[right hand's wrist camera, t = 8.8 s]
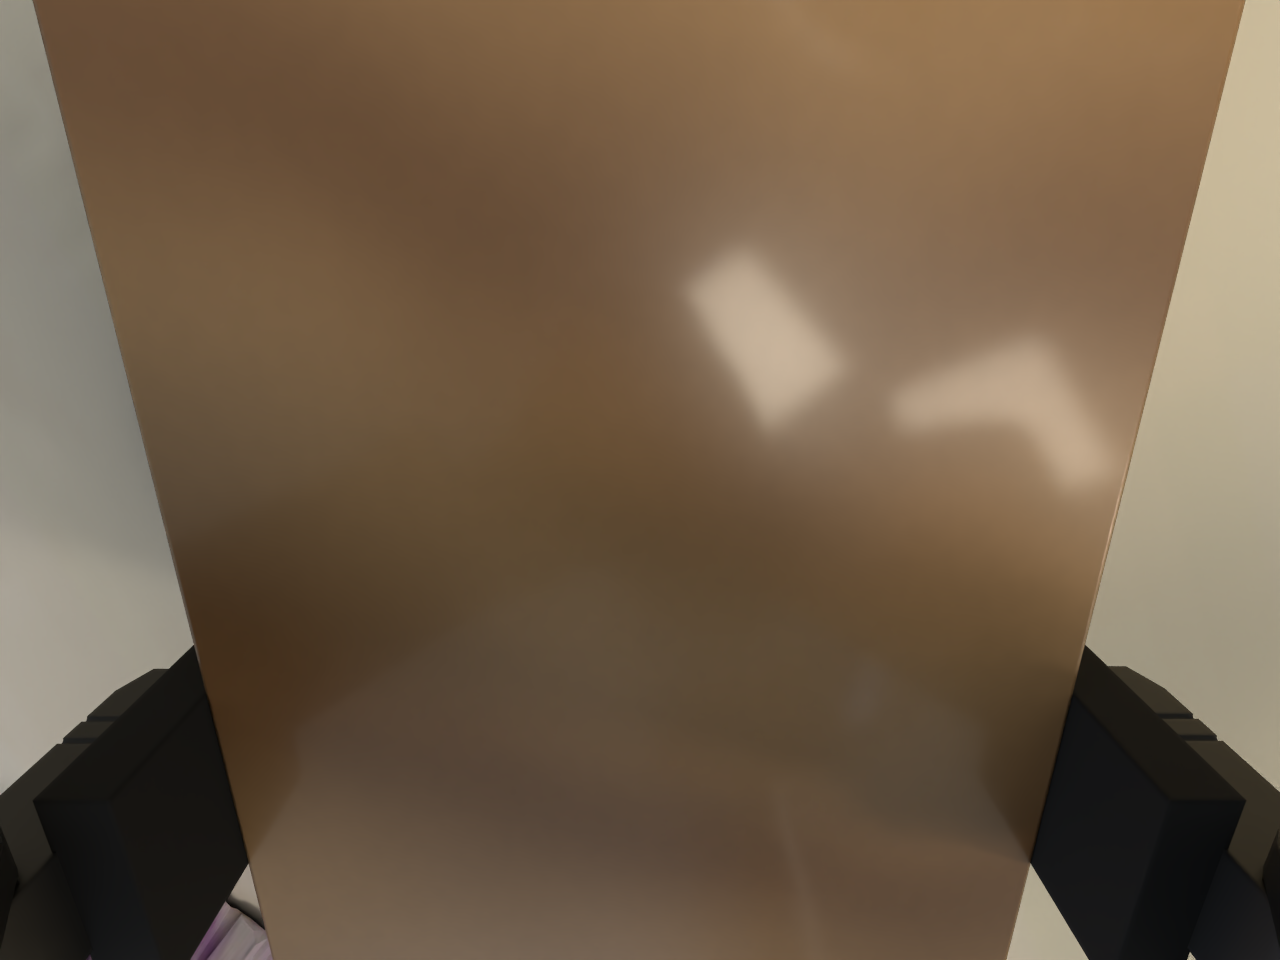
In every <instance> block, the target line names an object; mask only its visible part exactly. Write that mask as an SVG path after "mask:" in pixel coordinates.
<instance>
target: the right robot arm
mask: <svg viewBox="0 0 1280 960" xmlns="http://www.w3.org/2000/svg"><path fill="white" fill-rule="evenodd" d="M1216 737H1217V735H1216V734H1214V733H1213V732H1212V731H1211V730H1210V729H1209V728H1208V727H1207V726H1206V725H1204V724H1203V723H1202V722H1201V721H1200V720H1199V719H1194V718H1193V714H1192V713H1191V712H1190V711H1189V710H1188V709H1187V708H1186V707H1185V706H1183V705H1182V704H1181V703H1180V702H1179V701H1178V700H1177V699H1176V698H1175V697H1173V696H1172V695H1171V694H1170V693H1169V692H1168V691H1167V690H1166V689H1165V688H1163V687H1161V686H1159V685H1158V684H1156V683H1154V682H1152V681H1151V680H1149V679H1147V678H1145V677H1144V676H1142V675H1140V674H1138V673H1137V672H1135V671H1133V670H1131V669H1130V668H1128V667H1126V666H1107V665H1106V664H1105V663H1104V662H1103V661H1101V660H1100V659H1099V658H1098V657H1097V656H1096V655H1095V654H1094V653H1093V652H1092V651H1091V650H1090V649H1089V648H1088V647H1087V646H1086V645H1085V646H1084V650H1083V654H1082V658H1081V662H1080V666H1079V670H1078V674H1077V678H1076V682H1075V686H1074V690H1073V694H1072V698H1071V702H1070V706H1069V710H1068V714H1067V718H1066V722H1065V726H1064V730H1063V734H1062V738H1061V742H1060V746H1059V750H1058V754H1057V758H1056V762H1055V766H1054V770H1053V774H1052V778H1051V782H1050V786H1049V790H1048V794H1047V798H1046V802H1045V806H1044V810H1043V814H1042V818H1041V822H1040V826H1039V830H1038V834H1037V838H1036V842H1035V846H1034V851H1033V855H1032V859H1031V865H1032V866H1033V868H1034V869H1035V871H1036V873H1037V874H1038V876H1039V878H1040V879H1041V881H1042V883H1043V884H1044V886H1045V888H1046V889H1047V891H1048V893H1049V894H1050V896H1051V898H1052V899H1053V901H1054V903H1055V904H1056V906H1057V908H1058V909H1059V911H1060V913H1061V914H1062V916H1063V918H1064V919H1065V921H1066V923H1067V924H1068V926H1069V928H1070V929H1071V931H1072V932H1073V934H1074V936H1075V937H1076V939H1077V941H1078V942H1079V944H1080V946H1081V947H1082V949H1083V951H1084V952H1085V954H1086V956H1087V957H1088V959H1089V960H1187V958H1188V955H1189V953H1190V952H1191V953H1192V955H1193V956H1194V957H1195V959H1196V960H1280V792H1279V791H1278V790H1277V789H1275V788H1274V787H1273V786H1272V785H1271V784H1270V783H1269V782H1268V781H1267V780H1265V779H1264V778H1263V777H1262V776H1261V775H1260V774H1259V773H1258V772H1257V771H1256V770H1254V769H1253V768H1252V767H1251V766H1250V765H1249V764H1248V763H1247V762H1246V761H1244V760H1243V759H1242V758H1241V757H1240V756H1239V755H1238V754H1237V753H1236V752H1234V751H1233V750H1232V749H1231V748H1230V747H1229V746H1228V745H1227V744H1226V743H1224V742H1223V741H1218V740H1217V738H1216ZM248 863H249V862H248V858H247V854H246V850H245V846H244V842H243V838H242V834H241V830H240V826H239V822H238V818H237V814H236V810H235V806H234V803H233V799H232V795H231V791H230V787H229V783H228V779H227V775H226V771H225V767H224V763H223V759H222V755H221V751H220V747H219V743H218V739H217V735H216V731H215V727H214V723H213V719H212V715H211V711H210V707H209V703H208V699H207V695H206V691H205V687H204V683H203V679H202V675H201V671H200V667H199V663H198V659H197V655H196V651H195V647H194V645H193V646H192V647H191V648H190V649H189V650H188V651H187V652H186V653H185V654H184V655H183V656H182V657H181V658H180V659H179V660H178V661H177V662H176V663H175V664H174V665H172V666H171V667H170V668H169V669H153V670H151V671H149V672H148V673H146V674H144V675H142V676H141V677H139V678H137V679H135V680H134V681H132V682H130V683H128V684H127V685H125V686H123V687H121V688H120V689H118V690H116V691H115V692H114V693H113V694H112V695H110V696H109V697H108V698H107V699H106V700H105V701H104V702H103V703H102V704H101V705H99V706H98V707H97V708H96V709H95V710H94V711H93V712H92V713H91V714H89V715H88V716H87V721H86V722H81V723H80V724H78V725H77V726H76V727H75V728H74V729H73V730H72V731H71V732H70V733H69V734H67V735H66V736H65V737H64V738H63V743H62V744H56V745H55V746H54V747H53V748H52V749H51V750H50V751H49V752H48V753H46V754H45V755H44V756H43V757H42V758H41V759H40V760H39V761H38V762H37V763H35V764H34V765H33V766H32V767H31V768H30V769H29V770H28V771H27V772H26V773H24V774H23V775H22V776H21V777H20V778H19V779H18V780H17V781H16V782H15V783H13V784H12V785H11V786H10V787H9V788H8V789H7V790H6V791H5V792H3V793H2V794H1V795H0V960H86V959H87V958H88V956H89V955H91V958H92V960H190V959H191V958H192V956H193V954H194V953H195V951H196V949H197V948H198V946H199V944H200V943H201V941H202V940H203V938H204V936H205V935H206V933H207V931H208V930H209V928H210V926H211V925H212V923H213V921H214V920H215V918H216V916H217V915H218V913H219V911H220V910H221V908H222V906H223V905H224V903H225V901H226V900H227V898H228V896H229V895H230V893H231V891H232V890H233V888H234V886H235V885H236V883H237V882H238V880H239V878H240V877H241V875H242V873H243V872H244V870H245V868H246V867H247V865H248Z"/></svg>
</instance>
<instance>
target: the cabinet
mask: <svg viewBox="0 0 1280 960" xmlns="http://www.w3.org/2000/svg"><path fill="white" fill-rule="evenodd" d="M33 3H34V7H35V11H36V15H37V19H38V23H39V27H40V31H41V35H42V39H43V43H44V47H45V51H46V55H47V59H48V63H49V67H50V71H51V75H52V79H53V83H54V87H55V91H56V95H57V99H58V103H59V107H60V111H61V115H62V119H63V123H64V127H65V131H66V135H67V139H68V143H69V147H70V151H71V155H72V159H73V163H74V167H75V171H76V175H77V179H78V183H79V187H80V191H81V195H82V199H83V203H84V207H85V211H86V215H87V219H88V223H89V227H90V231H91V235H92V239H93V243H94V247H95V251H96V255H97V259H98V263H99V267H100V271H101V275H102V279H103V283H104V287H105V291H106V295H107V299H108V303H109V307H110V311H111V315H112V319H113V323H114V327H115V331H116V335H117V339H118V343H119V347H120V351H121V355H122V359H123V363H124V367H125V371H126V375H127V379H128V383H129V387H130V391H131V395H132V399H133V403H134V407H135V411H136V415H137V419H138V423H139V427H140V431H141V435H142V439H143V443H144V447H145V451H146V455H147V459H148V463H149V467H150V471H151V475H152V479H153V483H154V487H155V491H156V495H157V499H158V503H159V507H160V511H161V515H162V519H163V523H164V527H165V531H166V535H167V539H168V543H169V547H170V551H171V555H172V559H173V563H174V567H175V571H176V575H177V579H178V583H179V587H180V591H181V595H182V599H183V603H184V607H185V611H186V615H187V619H188V623H189V627H190V631H191V635H192V639H193V643H194V647H195V651H196V655H197V659H198V663H199V667H200V671H201V675H202V679H203V683H204V687H205V691H206V695H207V699H208V703H209V707H210V711H211V715H212V719H213V723H214V727H215V731H216V735H217V739H218V743H219V747H220V751H221V755H222V759H223V763H224V767H225V771H226V775H227V779H228V783H229V787H230V791H231V795H232V799H233V803H234V806H235V810H236V814H237V818H238V822H239V826H240V830H241V834H242V838H243V842H244V846H245V850H246V854H247V858H248V862H249V866H250V870H251V874H252V878H253V882H254V886H255V890H256V894H257V898H258V902H259V906H260V910H261V914H262V918H263V922H264V926H265V930H266V934H267V938H268V942H269V946H270V950H271V954H272V958H273V960H1006V959H1007V955H1008V951H1009V947H1010V943H1011V939H1012V935H1013V931H1014V927H1015V923H1016V919H1017V915H1018V911H1019V907H1020V903H1021V899H1022V895H1023V891H1024V887H1025V883H1026V879H1027V875H1028V871H1029V867H1030V863H1031V859H1032V855H1033V851H1034V846H1035V842H1036V838H1037V834H1038V830H1039V826H1040V822H1041V818H1042V814H1043V810H1044V806H1045V802H1046V798H1047V794H1048V790H1049V786H1050V782H1051V778H1052V774H1053V770H1054V766H1055V762H1056V758H1057V754H1058V750H1059V746H1060V742H1061V738H1062V734H1063V730H1064V726H1065V722H1066V718H1067V714H1068V710H1069V706H1070V702H1071V698H1072V694H1073V690H1074V686H1075V682H1076V678H1077V674H1078V670H1079V666H1080V662H1081V658H1082V654H1083V650H1084V646H1085V642H1086V638H1087V634H1088V630H1089V626H1090V622H1091V618H1092V614H1093V610H1094V606H1095V602H1096V598H1097V594H1098V590H1099V586H1100V582H1101V578H1102V574H1103V570H1104V566H1105V562H1106V558H1107V554H1108V550H1109V546H1110V542H1111V538H1112V533H1113V529H1114V525H1115V521H1116V517H1117V513H1118V509H1119V505H1120V501H1121V497H1122V493H1123V489H1124V485H1125V481H1126V477H1127V473H1128V469H1129V465H1130V461H1131V457H1132V453H1133V449H1134V445H1135V441H1136V437H1137V433H1138V429H1139V425H1140V421H1141V417H1142V413H1143V409H1144V405H1145V401H1146V397H1147V393H1148V389H1149V385H1150V381H1151V377H1152V373H1153V369H1154V365H1155V361H1156V357H1157V353H1158V349H1159V345H1160V341H1161V337H1162V333H1163V329H1164V325H1165V321H1166V317H1167V313H1168V309H1169V305H1170V301H1171V297H1172V293H1173V289H1174V285H1175V281H1176V277H1177V273H1178V269H1179V265H1180V261H1181V257H1182V253H1183V249H1184V245H1185V241H1186V237H1187V233H1188V229H1189V225H1190V220H1191V216H1192V212H1193V208H1194V204H1195V200H1196V196H1197V192H1198V188H1199V184H1200V180H1201V176H1202V172H1203V168H1204V164H1205V160H1206V156H1207V152H1208V148H1209V144H1210V140H1211V136H1212V132H1213V128H1214V124H1215V120H1216V116H1217V112H1218V108H1219V104H1220V100H1221V96H1222V92H1223V88H1224V84H1225V80H1226V76H1227V72H1228V68H1229V64H1230V60H1231V56H1232V52H1233V48H1234V44H1235V40H1236V36H1237V32H1238V28H1239V24H1240V20H1241V16H1242V12H1243V8H1244V4H1245V0H33Z"/></svg>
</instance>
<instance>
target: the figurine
mask: <svg viewBox="0 0 1280 960" xmlns="http://www.w3.org/2000/svg"><path fill="white" fill-rule="evenodd" d="M86 960H92V958H91V955H89V956H88V958H87V959H86ZM190 960H273V958H272V954H271V950H270V946H269V942H268V938H267V934H266V931H265V930H264V929H263V928H261V927H260V926H259V925H258V924H257V923H255V922H254V921H253V920H252V919H251V918H249V917H248V916H246V915H245V914H243V913H242V912H240V911H239V910H238V909H235V908H231V907H230V906H229V905H228V904H227V903H226V902H225V903H224V905H223V906H222V908H221V910H220V911H219V913H218V915H217V916H216V918H215V920H214V921H213V923H212V925H211V926H210V928H209V930H208V931H207V933H206V935H205V936H204V938H203V940H202V941H201V943H200V944H199V946H198V948H197V949H196V951H195V953H194V954H193V956H192V958H191V959H190Z"/></svg>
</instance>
